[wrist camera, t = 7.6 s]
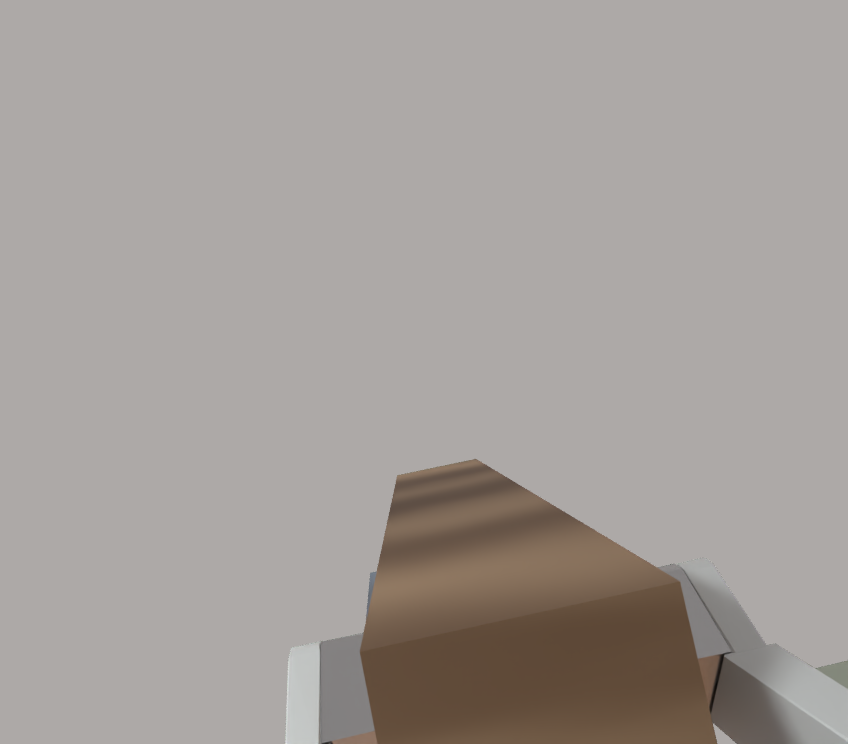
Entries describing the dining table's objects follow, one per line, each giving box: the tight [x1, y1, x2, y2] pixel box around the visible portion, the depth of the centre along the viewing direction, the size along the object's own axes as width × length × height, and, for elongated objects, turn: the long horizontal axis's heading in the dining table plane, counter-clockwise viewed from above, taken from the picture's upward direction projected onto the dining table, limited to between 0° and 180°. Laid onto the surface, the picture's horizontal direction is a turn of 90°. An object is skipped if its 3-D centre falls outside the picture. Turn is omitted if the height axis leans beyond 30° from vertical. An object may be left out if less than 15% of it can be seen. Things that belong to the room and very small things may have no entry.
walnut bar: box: [360, 459, 717, 744], centre depth 20 cm, size 24×4×4 cm, turn 3°
